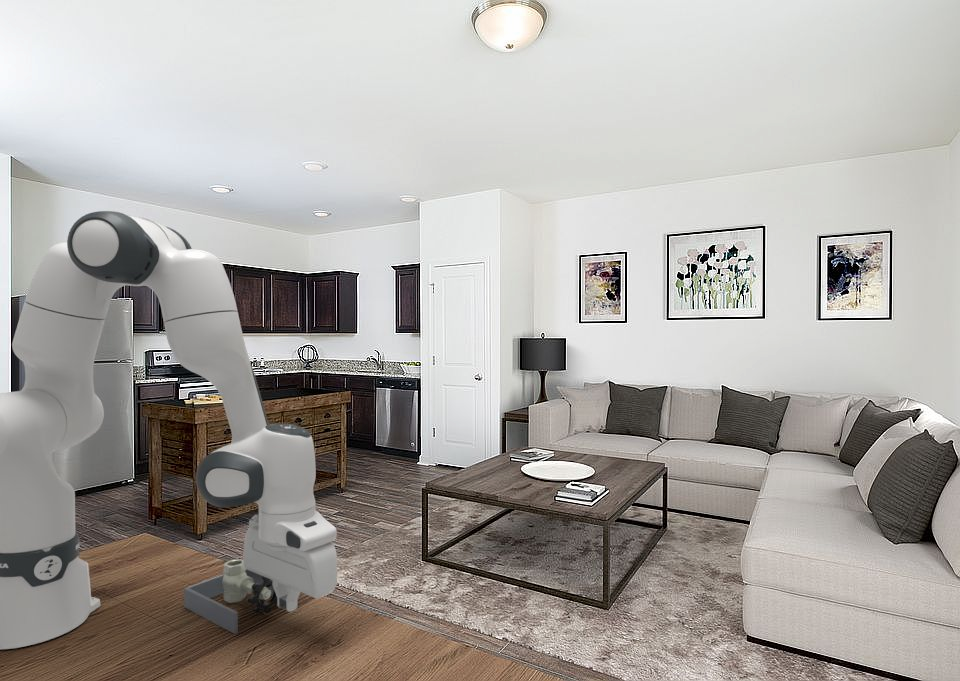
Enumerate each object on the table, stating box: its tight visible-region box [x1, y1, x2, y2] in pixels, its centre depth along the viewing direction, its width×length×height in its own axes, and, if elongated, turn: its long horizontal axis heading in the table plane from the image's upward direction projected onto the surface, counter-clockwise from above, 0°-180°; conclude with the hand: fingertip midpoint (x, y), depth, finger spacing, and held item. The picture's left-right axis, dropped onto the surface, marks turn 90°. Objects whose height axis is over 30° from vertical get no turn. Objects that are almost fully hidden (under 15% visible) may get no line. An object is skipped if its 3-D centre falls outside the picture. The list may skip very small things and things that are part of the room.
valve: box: [222, 558, 277, 615], centre depth 103 cm, size 7×7×12 cm
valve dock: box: [183, 569, 299, 635], centre depth 103 cm, size 16×12×3 cm
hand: (287, 608), depth 95 cm, fingers closed
